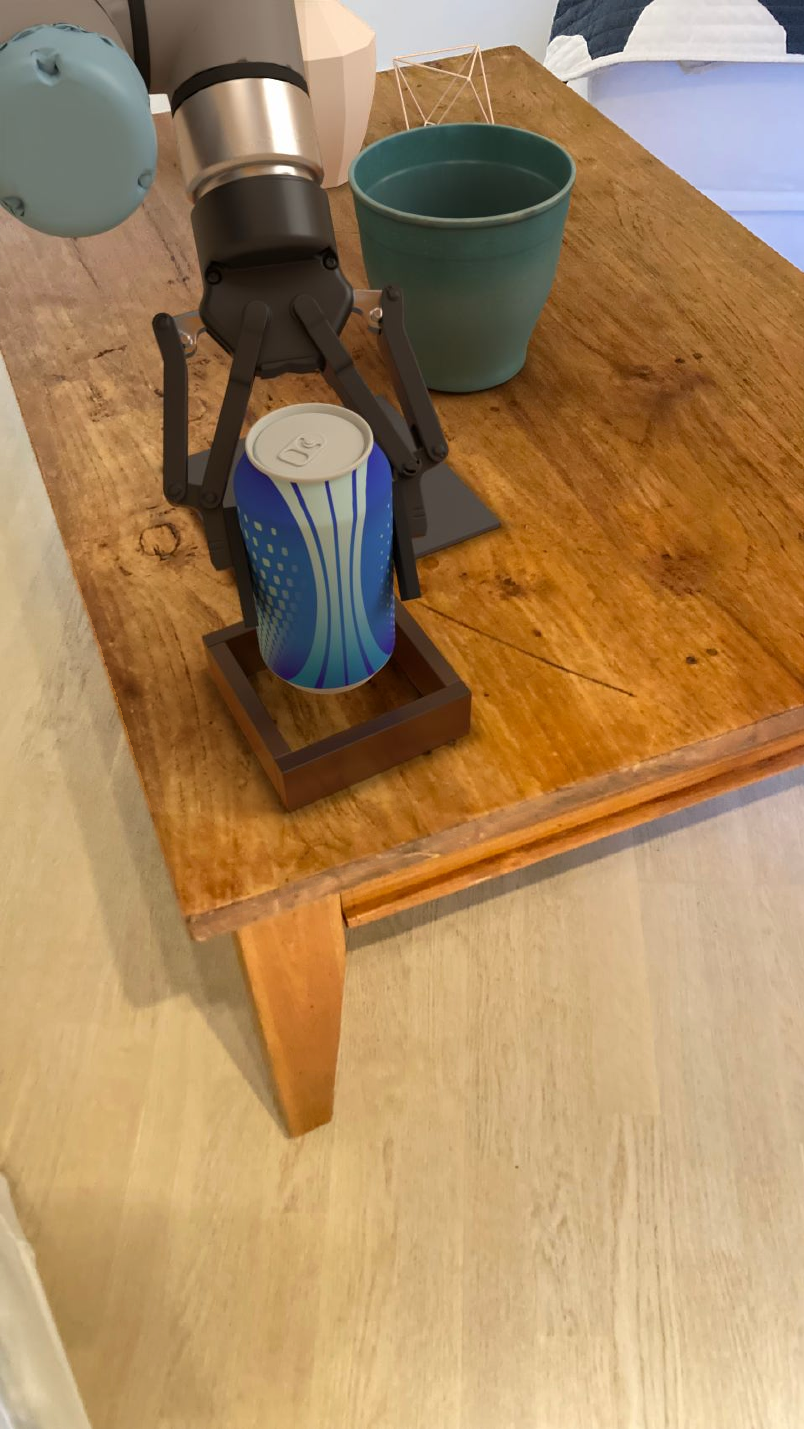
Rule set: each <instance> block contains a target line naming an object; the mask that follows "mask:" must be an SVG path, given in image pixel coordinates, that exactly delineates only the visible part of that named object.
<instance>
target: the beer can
mask: <svg viewBox="0 0 804 1429" xmlns="http://www.w3.org/2000/svg"><path fill="white" fill-rule="evenodd" d="M245 437H246V441H245V449H246V450H245V451H244V453H243V455H242V457H241V458H240V460H239V462H238V464H237V466H236V469H235V473H234V478H233V487H234V494H235V500H236V506H237V512H238V518H239V522H240V526H241V530H242V536H243V541H244V547H245V552H246V557H247V563H248V568H249V574H250V579H251V584H252V590H253V595H254V600H255V606H256V611H257V617H258V622H259V626H257V627H256V629H257V635H258V641H259V647H260V652H261V655H262V658H263V660H264V662H265V663H266V665H267V666H268V667H269V668H268V669H269V670H270V671H271V672H272V673H273V674H274V675H276V676H277V678H280V679H282V680H283V681H284V682H286V683H288V684H289V685H290V686H292V687H294V688H296V689H298V690H300V691H303V692H307V693H311V694H316V695H335V694H341V693H345V692H348V691H352V690H354V689H356V688H359V687H360V686H363V685H364V684H365V683H366V682H368V681H369V680H370V679H371V678H372V677H374V675H375V674H377V673H378V672H379V671H380V670H381V669H382V668H383V667H384V666H385V665H386V664H387V662H388V661H389V659H390V658H391V656H392V655H391V654H392V651H393V648H394V644H395V609H394V594H395V567H394V560H393V511H392V474H391V468H390V464H389V462H388V460H387V458H386V456H385V454H384V453H383V451H382V450H381V449H380V448H379V446H378V445H377V444H376V443H375V442H374V440H373V434H372V431H371V429H370V427H369V425H368V424H367V422H366V421H365V420H364V419H363V418H362V417H360V416H359V415H358V414H356V413H354V412H353V411H350V410H348V409H346V408H343V407H341V406H339V405H335V404H332V403H331V404H330V403H323V402H303V403H297V404H291V405H287V406H283V407H280V408H278V409H275V410H273V411H271V412H268V413H267V414H265V415H263V416H262V417H260V418H259V419H258V420H256V422H255V423H253V424H252V426H251V427H250V429H249V430H248V432H247V434H246V436H245Z"/></svg>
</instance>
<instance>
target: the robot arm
mask: <svg viewBox="0 0 804 1429" xmlns="http://www.w3.org/2000/svg"><path fill="white" fill-rule="evenodd" d="M151 95H166V97H167V100H168V103H169V107H170V113H171V119H172V126H173V131H174V137H175V142H176V146H177V147H176V148H177V152H178V158H179V163H180V170H181V174H182V180H183V185H184V191H185V195H186V197H187V200H188V201H189V203H191V204H192V205H193V208H192V209H191V212H190V223H191V228H192V234H193V239H194V244H195V250H196V255H197V260H198V267H199V271H200V277H201V282H202V287H203V291H202V295H201V299H200V302H199V306H198V308H197V309H193V310H189V311H187V312H183V313H181V314H180V313H179V314H177V315H174V316H172V315H170V313H167V312H165V311H164V312H158V313H156V314H155V315H154V317H152V321H151V326H152V331H153V335H154V339H155V342H156V345H157V347H158V351H159V353H160V356H161V360H162V361H163V363H162V364H163V366H162V369H163V371H162V372H163V373H162V374H163V376H162V377H163V380H162V386H163V387H162V388H163V389H162V390H163V391H162V392H163V393H162V419H163V420H162V492H163V496H164V498H165V500H166V502H167V503H168V505H170V506H171V507H173V508H183V509H188V510H193V511H194V510H195V511H197V512H198V513H199V514H200V515H201V516H202V518H203V522H204V526H203V528H204V532H205V537H206V542H207V548H208V553H209V559H210V563H211V565H212V566H213V568H214V569H215V571H216V572H221V571H222V572H223V571H228V570H232V569H234V572H233V574H234V578H235V582H236V584H235V585H236V588H237V594H238V600H239V603H240V609H241V616H242V621H244V626H245V629H246V628H252V627H257V626H259V622H258V617H257V611H256V606H255V600H254V595H253V590H252V584H251V579H250V574H249V568H248V563H247V557H246V552H245V547H244V541H243V536H242V530H241V526H240V522H239V518H238V512H237V506H233V507H227V508H224V507H223V500H224V496H225V492H226V488H227V484H228V480H229V477H230V473H231V469H232V465H233V461H234V457H235V453H236V449H237V445H238V441H239V439H240V438H241V433H242V430H243V426H244V422H245V419H246V418H245V417H246V413H247V410H248V406H249V401H250V398H251V396H252V391H253V387H254V384H255V380H256V378H259V379H260V381H264V380H271V379H276V378H278V377H281V376H283V375H285V374H287V373H289V374H297V375H306V374H307V375H308V374H312V373H316V371H318V372H319V374H320V375H321V377H322V378H323V380H324V381H325V383H326V384H327V385H328V386H329V387H330V388H331V389H332V390H333V391H334V394H336V396H337V397H338V399H339V400H340V402H341V404H342V406H345V408H346V409H348V410H350V411H353V412H354V413H356V414H358V415H359V416H360V417H362V418H363V419H364V420H365V421H366V422H367V424H368V425H369V427H370V429H371V431H372V434H373V440H374V442H375V443H376V444H377V445H378V446H379V448H380V449H381V450H382V451H383V453H384V454H385V456H386V458H387V460H388V462H389V464H390V468H391V474H392V478H393V479H394V481H393V482H392V511H393V559H394V565H395V567H394V572H395V575H396V581H397V582H396V583H397V588H398V593H399V598H400V599H399V600H400V602H407V601H412V600H417V599H421V598H422V592H421V586H420V580H419V573H418V568H417V563H416V559H415V556H414V550H413V544H412V539H417V538H422V537H424V536H426V532H427V527H428V524H427V518H426V512H425V506H424V500H423V494H422V489H421V477H422V475H423V473H425V472H426V471H428V470H430V469H432V468H434V467H436V466H437V465H438V464H440V463H441V462H442V461H445V460H446V459H447V457H448V456H449V453H450V449H449V445H448V442H447V439H446V437H445V434H444V431H443V428H442V425H441V423H440V420H439V418H438V415H437V412H436V410H435V406H434V404H433V401H432V399H431V395H430V392H429V389H428V388H427V387H426V384H425V382H424V379H423V376H422V373H421V371H420V368H419V365H418V363H417V360H416V357H415V354H414V352H413V349H412V346H411V343H410V341H409V338H408V335H407V332H406V330H405V327H404V294H403V290H402V288H401V287H400V286H399V285H397V284H395V283H390V284H387V285H386V286H385V287H384V288H383V290H370V289H364V288H363V289H361V288H358V289H357V288H354V287H353V285H352V283H351V282H350V281H349V280H348V278H347V277H346V275H345V274H344V272H343V269H342V266H341V263H340V258H339V252H338V247H337V241H336V236H335V235H336V234H335V228H334V223H333V217H332V212H331V206H330V200H329V196H328V193H327V191H326V189H323V188H321V187H320V185H321V184H322V183H323V179H324V170H323V164H322V159H321V154H320V148H319V143H318V137H317V132H316V127H315V121H314V116H313V111H312V105H311V101H310V97H309V91H308V86H307V82H306V75H305V69H304V62H303V55H302V49H301V42H300V36H299V29H298V23H297V16H296V10H295V3H294V0H0V206H1V207H2V209H4V210H5V211H6V212H7V213H9V214H10V215H11V216H12V217H14V218H15V219H16V220H18V221H19V222H21V223H22V224H23V225H24V226H27V227H28V228H30V229H32V230H35V231H37V232H39V233H42V234H44V235H48V236H51V237H57V238H62V239H80V238H89V237H93V236H99V235H101V234H104V233H108V232H110V231H111V230H113V229H115V228H117V227H119V226H120V225H121V224H122V223H124V222H125V221H127V220H128V219H129V218H130V217H131V216H132V215H133V214H134V213H135V212H136V211H137V210H138V208H139V207H140V206H141V205H142V203H143V202H144V200H145V198H146V196H147V194H148V193H149V191H150V189H151V186H152V185H153V183H154V182H155V175H156V171H157V163H158V138H157V137H158V136H157V131H156V126H155V121H154V117H153V113H152V110H151V98H150V96H151ZM352 313H354V314H357V315H359V317H361V319H362V321H363V325H364V328H365V330H367V331H368V332H370V333H374V334H376V339H377V346H378V349H379V352H380V355H381V358H382V360H383V363H384V366H385V368H386V371H387V374H388V377H389V380H390V383H391V385H392V387H393V390H394V393H395V396H396V399H397V401H398V404H399V406H400V409H401V413H402V415H403V417H404V420H405V421H406V423H407V426H408V428H409V431H410V434H411V436H412V439H413V442H414V444H415V447H416V451H415V452H413V453H412V451H411V450H410V448H409V447H408V445H407V444H406V442H405V441H404V439H403V438H402V436H401V435H400V433H399V432H398V430H397V429H396V427H395V426H394V424H393V423H392V421H391V420H390V418H389V417H388V415H387V414H386V412H385V411H384V409H383V408H382V406H381V405H380V403H379V402H378V400H377V399H376V397H375V396H376V395H375V394H374V392H373V391H372V390H371V388H370V387H369V385H368V384H367V382H366V380H365V379H364V377H363V376H362V374H361V373H360V371H359V370H358V368H357V367H356V364H355V363H354V360H353V358H352V356H351V353H350V352H349V350H348V349H347V348H346V346H345V345H344V343H343V342H342V340H341V338H340V337H341V335H342V332H343V331H344V328H345V326H346V324H347V322H348V320H349V319H350V316H351V314H352ZM203 333H206V334H207V335H208V336H209V337H210V338H211V339H212V340H213V341H214V342H215V343H216V344H217V345H218V346H219V347H220V348H221V349H222V350H223V351H224V352H225V353H226V354H227V355H228V356H229V357H230V358H231V359H232V362H231V366H230V370H229V374H228V379H227V385H226V388H225V392H224V396H223V399H222V402H221V403H222V404H221V408H220V412H219V416H218V420H217V424H216V427H215V432H214V436H213V439H212V443H211V447H210V449H211V451H210V455H209V458H208V462H207V466H206V470H205V474H204V478H203V482H202V486H201V485H196V484H191V483H188V456H189V382H190V381H189V370H188V362H187V359H190V358H192V357H194V356H195V355H196V353H197V350H198V338H199V337H200V335H201V334H203Z"/></svg>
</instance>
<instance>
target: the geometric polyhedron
mask: <svg viewBox="0 0 804 1429" xmlns="http://www.w3.org/2000/svg"><path fill="white" fill-rule="evenodd" d="M472 47H474V48H473V49H472V51H471V52H470V54H469V56H468V57H467V58H466V60H465V62H463V64H462V66H461V67H460V69H459V71H458V72H457V73H455V72H451V71H448V70H443V69H440V68H436V67H432V66H428V65H425V64H420V63H418V62H414V61H410V60H406V58H412V57H418V56H424V55H429V54H431V55H432V54H436V53H441V52H448V51H455V50H460V49H467V48H472ZM477 55H478V57H479V62H480V69H481V74H482V78H483V83H484V84H483V85H484V90H485V94H486V99H487V105H488V111H489V115H490V120H491V124H495V120H494V116H493V115H494V114H493V110H492V105H491V99H490V94H489V89H488V84H487V78H486V73H485V67H484V62H483V58H482V57H483V56H482V51H481V47H480V43H472V44H465V45H460V46H453V47H447V48H441V49H435V50H429V51H423V52H415V53H412V54H405V55H399V56H394V58H393V59H392V64H393V69H394V74H395V78H396V83H397V88H398V92H399V97H400V101H401V106H402V111H403V112H402V113H403V116H404V122H405V125H406V130H409V129H410V126H409V121H408V117H407V112H406V107H405V102H404V96H403V93H402V92H403V91H402V88H401V84H400V83H401V82H400V78H399V76H400V77H401V79H402V81H403V83H404V85H405V87H406V89H407V91H408V93H409V94H410V97H411V99H412V101H413V103H414V105H415V106H416V108H417V110H418V112H419V114H420V116H421V118H422V120H423V123H424V124H423V126H427V125H428V126H429V125H436V124H441V122H442V121H443V120H444V118H445V117H446V115H447V114H448V112H449V110H450V109H451V107H453V105H454V103H455V102H456V100H457V99H458V98H459V96H460V94H461V93H462V92H463V90H464V89H465V88H466V86H467V84H468V83H469V86H470V88H471V90H472V93H473V95H474V97H475V100H476V102H477V104H478V106H479V108H480V112H482V113H481V114H482V115H483V118H484V121H485V123H490V121H489V119H488V117H487V114H486V112H485V110H484V107H483V104H482V102H481V100H480V98H479V96H478V93H477V91H476V89H475V86H474V83H473V82H472V79H471V76H472V74H473V70H474V65H475V62H476V58H477ZM472 56H473V57H472ZM471 58H472V62H471V64H470V68H469V73H468V76H466V75H462V74H461V73H462V71H463V70H464V68H465V67H466V65H467V64H468V62H469V61H470V59H471ZM398 62H400V63H402V64H403V63H404V64H408V65H410V66H411V65H412V66H415V67H419V68H423V69H426V70H430V71H433V72H437V73H440V74H445V75H449V76H453V77H454V78H453V79H452V81H451V82H450V83H449V85H448V86H447V88H446V90H445V91H444V93H443V95H442V96H441V97H440V99H439V100H438V102H437V103H436V105H435V106H434V108H433V109H432V111H431V112H430V114H429V115H428V117H427V118H426V117H425V116H424V113H423V111H422V109H421V108H420V106H419V104H418V101H417V100H416V98H415V95H414V94H413V91H412V89H411V88H410V86H409V84H408V82H407V80H406V78H405V76H404V74H403V72H402V70H401V68H400V66H399V64H398ZM457 78H460V79H463V80H466V81H465V82H464V84H463V85H462V87H461V88H460V89H459V91H458V93H457V94H456V95H455V96H454V97H453V99H452V101H451V102H450V104H449V106H448V107H447V109H446V110H445V111H444V113H443V114H442V116H441V117H440V119H439V120H438V121H437V123H434V122H430V121H429V120H430V119H431V117H432V116H433V114H434V113H435V111H436V110H437V108H438V107H439V105H440V104H441V102H442V101H443V100H444V98H445V97H446V95H447V93H448V92H449V90H450V89H451V87H452V86H453V84H454V83H455V81H456V80H457Z"/></svg>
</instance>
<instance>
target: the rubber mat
mask: <svg viewBox="0 0 804 1429" xmlns="http://www.w3.org/2000/svg"><path fill="white" fill-rule="evenodd" d="M374 396H375V397H376V399H377V400H378V402H379V403H380V405H381V406H382V408H383V409H384V411H385V412H386V414H387V415H388V417H389V418H390V420H391V421H392V423H393V424H394V426H395V427H396V429H397V430H398V432H399V433H400V435H401V436H402V438H403V439H404V441H405V442H406V444H407V445H408V447H409V448H410V450H411V451H412V453H413V452H415V451H416V447H415V444H414V442H413V439H412V436H411V434H410V431H409V428H408V426H407V423H406V420H405V418H403V416H402V415H401V414H400V413H399V412H398V411H397V410H396V409H395V408H394V407H393V406H392V404H390V403H389V402H388V401H387V400H386V398H385V397H384V396H382V394H381V393H379V394H376V395H374ZM340 407H343V408H345V406H344V405H342V406H340ZM246 437H247V436H245V437H243V438H239V441H238V445H237V449H236V453H235V457H234V461H233V465H232V469H231V473H230V477H229V480H228V484H227V488H226V492H225V496H224V500H223V507H224V508H227V507H233V506H236V500H235V494H234V487H233V478H234V473H235V469H236V466H237V464H238V462H239V460H240V458H241V457H242V455H243V453H244V451H245V450H246V449H245V441H246ZM210 451H211V448H208V449H206V450H202V451H199V452H196V453H193V454H189V455H188V483H191V484H196V485H201V486H202V482H203V478H204V474H205V470H206V466H207V462H208V458H209V455H210ZM393 481H394V479H393V478H392V482H393ZM421 489H422V494H423V500H424V506H425V512H426V518H427V524H428V527H427V532H426V536H424V537H422V538H417V539H412V544H413V550H414V556H415V560H417V559H419V558H422V557H425V556H428V555H430V554H434V553H436V552H438V551H441V550H443V549H446V548H448V547H452V546H454V545H457V544H459V543H462V542H464V541H467V540H470V539H472V538H475V537H478V536H481V535H483V534H486V533H488V532H490V531H493V530H496V529H498V528H501V526H502V522H501V520H500V519H499V518H498V517H497V516H496V515H495V514H494V513H493V512H492V511H491V510H490V508H488V507H487V506H486V504H484V502H482V500H481V499H480V498H479V497H478V496H477V495H476V494H475V493H474V492H473V491H472V490H471V488H469V486H468V485H467V484H465V482H464V481H463V480H462V479H461V478H460V477H459V476H458V475H457V474H456V473H455V471H453V469H451V467H450V466H449V465H448V464H447V463H446V462H445V460H443V461H442V462H441V463H440V464H438V465H437V466H436V467H434V468H432V469H430V470H428V471H426V472H425V473H423V475H422V477H421ZM193 512H194V514H195V516H196V517H197V518H198V519H199V521H200V522H201V524H202V526H203V527H204V522H203V518H202V516H201V515H200V514H199V513H198V512H197V511H195V510H193ZM393 560H394V559H393ZM394 568H395V565H394ZM231 570H232V572H233V573H234V569H231Z"/></svg>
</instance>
